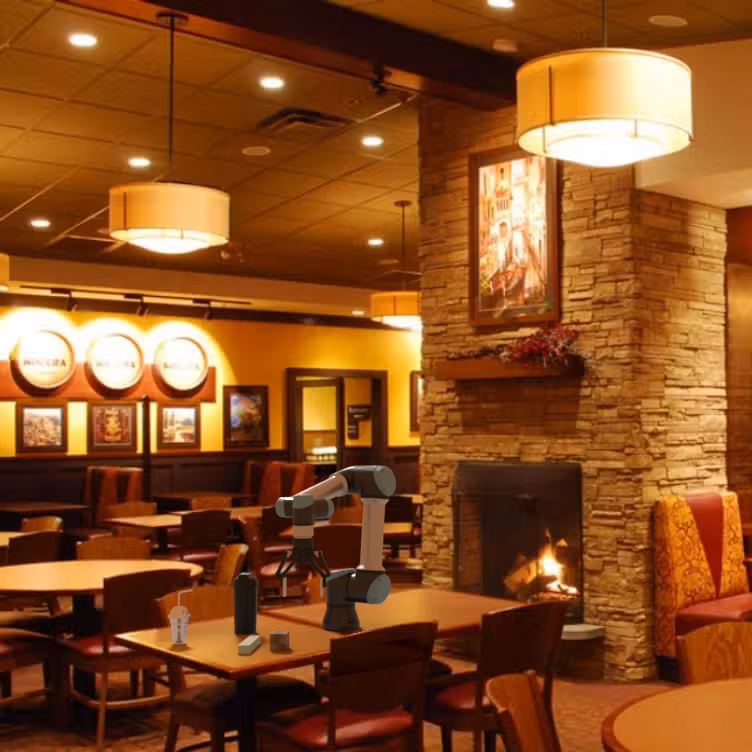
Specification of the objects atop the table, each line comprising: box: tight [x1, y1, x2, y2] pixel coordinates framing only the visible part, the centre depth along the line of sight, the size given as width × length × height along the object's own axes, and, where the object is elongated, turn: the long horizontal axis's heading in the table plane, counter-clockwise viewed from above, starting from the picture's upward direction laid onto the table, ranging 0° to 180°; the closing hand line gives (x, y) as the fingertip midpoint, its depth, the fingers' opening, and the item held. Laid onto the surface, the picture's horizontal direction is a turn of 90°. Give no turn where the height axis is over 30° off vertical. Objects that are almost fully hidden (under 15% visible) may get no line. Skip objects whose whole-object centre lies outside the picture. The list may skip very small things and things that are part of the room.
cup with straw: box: [167, 588, 194, 646], centre depth 415 cm, size 8×9×20 cm
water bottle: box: [231, 572, 259, 635], centre depth 437 cm, size 10×10×23 cm
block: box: [269, 630, 290, 652], centre depth 403 cm, size 6×6×6 cm
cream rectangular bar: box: [237, 634, 262, 655], centre depth 404 cm, size 4×20×3 cm, turn 174°
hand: (303, 596), depth 403 cm, fingers open, 13 cm apart
